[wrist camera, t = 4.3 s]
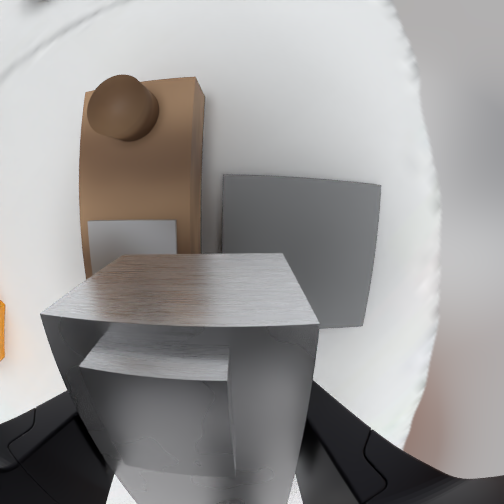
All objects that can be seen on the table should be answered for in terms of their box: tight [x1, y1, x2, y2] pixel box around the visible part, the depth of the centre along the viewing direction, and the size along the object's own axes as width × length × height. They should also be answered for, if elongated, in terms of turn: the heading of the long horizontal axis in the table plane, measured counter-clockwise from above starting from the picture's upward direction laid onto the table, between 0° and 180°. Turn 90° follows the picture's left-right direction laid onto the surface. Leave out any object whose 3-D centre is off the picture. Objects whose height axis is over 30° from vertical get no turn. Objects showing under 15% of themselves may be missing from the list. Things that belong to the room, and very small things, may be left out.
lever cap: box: [40, 253, 320, 504], centre depth 6 cm, size 7×4×5 cm, turn 0°
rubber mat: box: [222, 175, 381, 329], centre depth 19 cm, size 11×11×1 cm
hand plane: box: [79, 75, 205, 280], centre depth 16 cm, size 22×7×6 cm, turn 178°
